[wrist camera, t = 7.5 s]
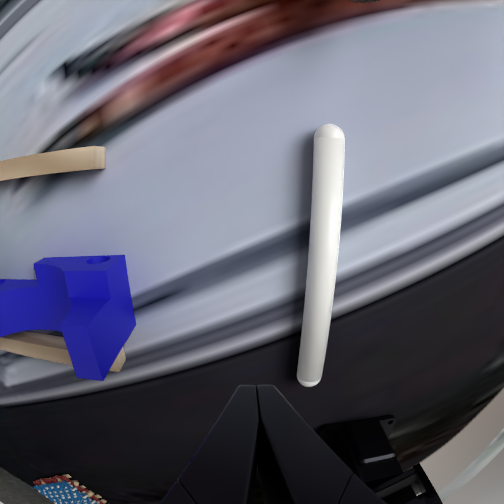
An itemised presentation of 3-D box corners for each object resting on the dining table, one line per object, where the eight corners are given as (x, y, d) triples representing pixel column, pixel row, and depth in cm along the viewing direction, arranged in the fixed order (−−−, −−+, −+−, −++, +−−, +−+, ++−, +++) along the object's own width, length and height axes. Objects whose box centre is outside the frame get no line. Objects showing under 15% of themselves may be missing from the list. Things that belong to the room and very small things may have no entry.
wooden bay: (125, 359, 19) (119, 372, 17) (-22, 332, 18) (-31, 340, 17) (105, 147, 15) (93, 146, 14) (-49, 175, 15) (-62, 177, 13)
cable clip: (125, 254, 17) (79, 293, 11) (136, 323, 18) (103, 380, 13) (-10, 259, 17) (-64, 286, 11) (4, 314, 18) (-42, 351, 12)
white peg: (317, 375, 20) (322, 390, 18) (293, 377, 20) (297, 392, 18) (339, 127, 16) (349, 123, 14) (311, 124, 15) (318, 120, 14)
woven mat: (67, 468, 24) (61, 480, 22) (134, 513, 26) (131, 524, 24) (33, 475, 25) (28, 485, 23) (91, 516, 28) (88, 526, 26)
